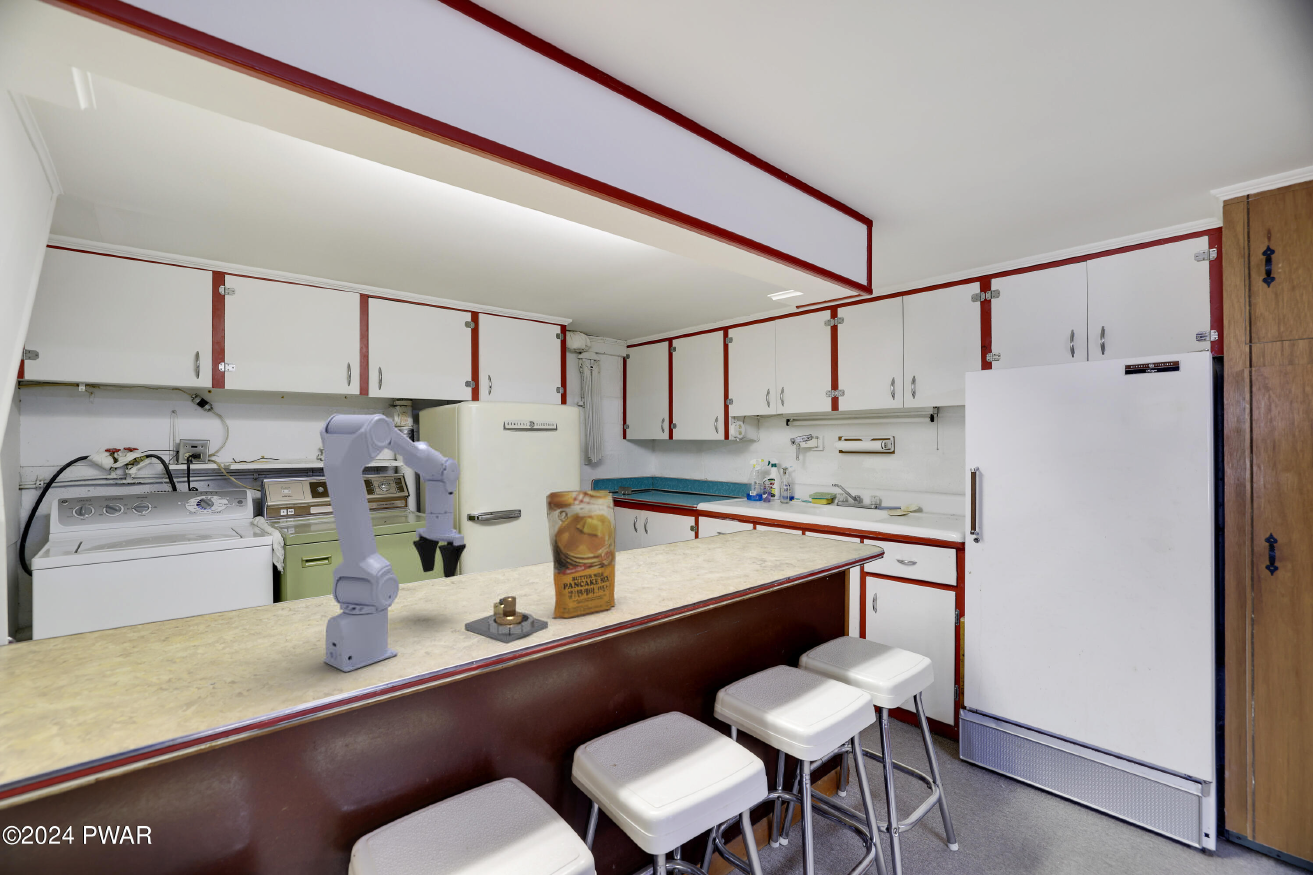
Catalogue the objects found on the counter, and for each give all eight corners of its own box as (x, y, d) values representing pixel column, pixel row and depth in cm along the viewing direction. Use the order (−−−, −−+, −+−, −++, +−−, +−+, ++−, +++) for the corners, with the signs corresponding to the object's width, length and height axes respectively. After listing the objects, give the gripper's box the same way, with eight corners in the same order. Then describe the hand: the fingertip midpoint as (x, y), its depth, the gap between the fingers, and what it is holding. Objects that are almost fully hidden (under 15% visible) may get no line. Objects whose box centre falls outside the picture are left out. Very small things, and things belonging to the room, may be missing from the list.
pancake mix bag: (538, 614, 125) (539, 491, 125) (610, 600, 136) (611, 487, 136) (551, 622, 120) (552, 494, 120) (625, 607, 131) (626, 489, 131)
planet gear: (507, 633, 110) (507, 603, 110) (490, 627, 113) (491, 598, 113) (527, 626, 114) (527, 597, 114) (511, 621, 117) (511, 592, 117)
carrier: (509, 643, 107) (509, 618, 107) (464, 629, 115) (465, 605, 115) (549, 627, 117) (549, 604, 117) (506, 615, 124) (506, 593, 124)
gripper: (476, 513, 120) (475, 575, 120) (435, 507, 128) (435, 565, 128) (447, 516, 114) (447, 582, 114) (407, 510, 122) (406, 571, 122)
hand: (438, 573), depth 121 cm, fingers open, 7 cm apart
